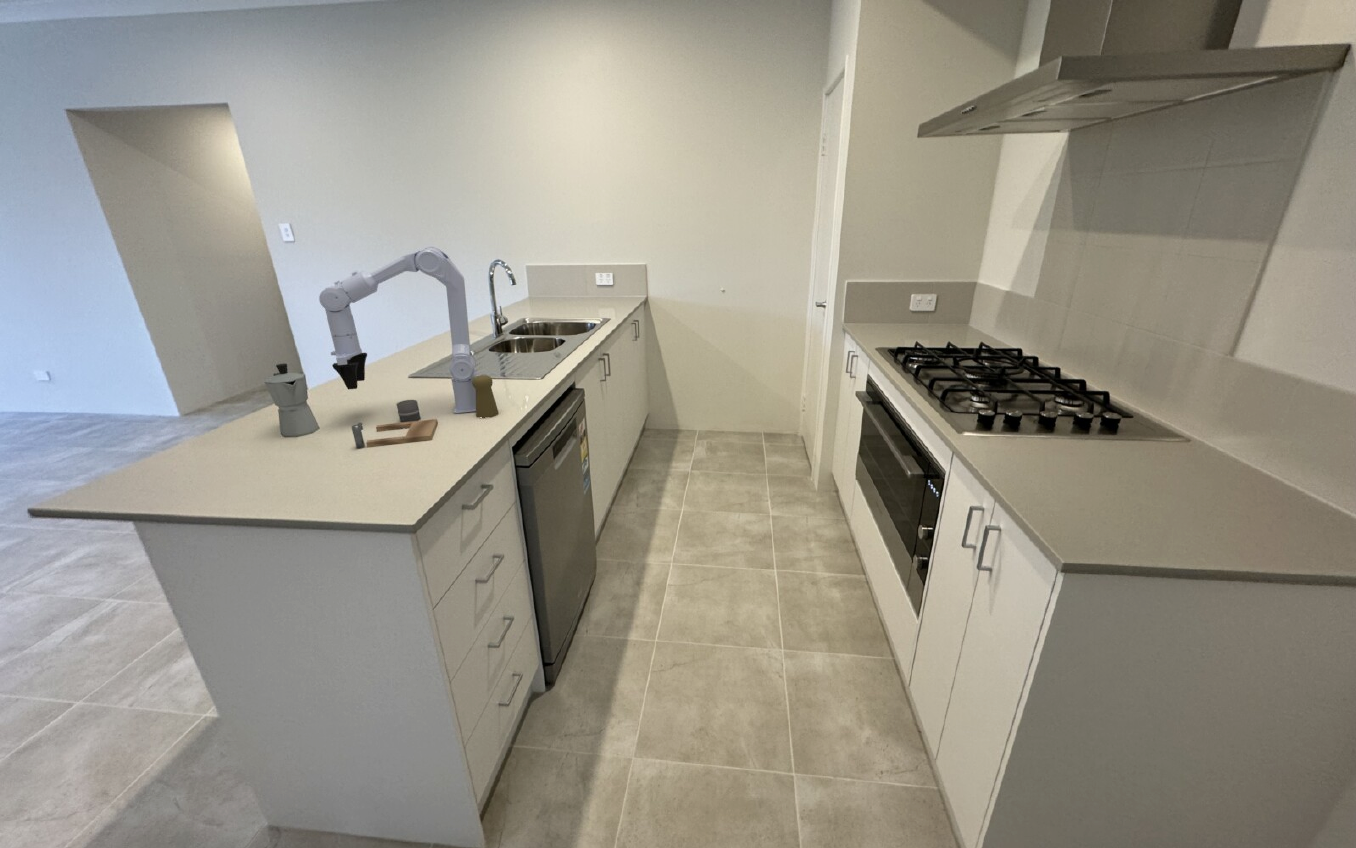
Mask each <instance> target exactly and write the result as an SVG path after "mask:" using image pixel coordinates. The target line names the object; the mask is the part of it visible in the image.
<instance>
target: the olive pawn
mask: <svg viewBox="0 0 1356 848" xmlns="http://www.w3.org/2000/svg"><path fill="white" fill-rule="evenodd" d="M493 383H494V382H493V378H492V377H491V376H490V375H488V374H487V375H486V374H481V375H479V376H476V377H474V378H473V380H472V384H473V387H474V388H475V389H476V411H475V417H476V418H478V417H482V418H481V419H486V418H485V417H490V418H494V417H496V416H498V415H499V409H498V406H497V401H496V399H495V396H494V392H493V389H492V386H493Z"/></svg>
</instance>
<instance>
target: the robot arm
mask: <svg viewBox="0 0 1356 848" xmlns="http://www.w3.org/2000/svg"><path fill="white" fill-rule="evenodd" d="M419 271H420V272H421V273H423V274H425V275H427V276H428V277H429V276H430V277H433V278H435V280H437V281H438V282H440V284H442V285H443V286H445V288H446V289H445V291H446V297H447V309H448V310H447V311H448V318H449V319H448V320H449V328H450V338H451V359H452V360H451V363H450V366H449V372H450V373H449V374H450V375H451V385H452V390H453V396H454V401H455V407H454V410H453V413H454V414H463V413H470V412H471V413H473V412H476V389H475V388H474V387H473V384H472V380H473V378H474V377H476V376H480V375H479V374H478V373H477V372H476V370H475V367H476V363H477V362H476V357H475V356H474V355H473V352H472V347H471V342H470V341H471V340H470V339H471V338H470V332H469V331H470V329H469V320H468V317H469V316H468V307H467V297H466V296H467V295H466V285H465V283H466V282H465V278H464V275H463V274H462V272H461V271H460V269H458V267H457V266H456V265H455V263H454V262H453V261H452V259H451V258H450V256H449V255H448V254H447V253H445V252H444V251H442V250H441V249H440V248H438V247H434V246H428V247H425V248H423V249H421V250H417V251H413V252H410V253H407V254H404V255H402V256H400V257H397V258H396V259H394V260H393V261H391V262H389V263H388V264H385V265H384V266H382V267H380V268H377V269H376V270H374V271H372V272H367V271H364V270H361V271H358V270H355V271H353V272H351V276H349V277H347V278H344V279H343V280H341V281H340V280H337V281H335V282H333V284H334V285H332V286H329V287H326V288H324V289H323V290H322V291H321V292H320V294H319V296H318V297H319V298H318V299H319V303H320V305H321V307H323V308H324V310H325V314H326V319H327V323H328V327H329V331H330V335H331V339H332V343H333V347H334V350H333V351H331V352H330V356H335V359H336V362H334V363H333V364H331V365H332V368H333V369H334V370H335V371H336V373H338V375H339V376H340V377H341V379H342V381H343V384H344V385H345V387H346V389H347V390H357V389H358V382H364V381H365V378H366V375H365V374H366V372H365V371H366V370H365V369H366V360H367V357H368V353H367V352H363V350H362V348H361V346H360V341H359V340H360V339H359V337H358V336H359V335H358V333H357V328H356V324H355V320H354V315H353V313H352V310H351V305H350V304H354V303H357V302H359V301H361V300H363V299H364V298H367V297H369V296H370V295H372V294H375V293H376V292H378V287H379V284H382V283H383V282H386V281H388V280H390V279H392V278H394V277H396V276H399V275H401V274H403V273H404V272H411V273H417V272H419Z"/></svg>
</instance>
